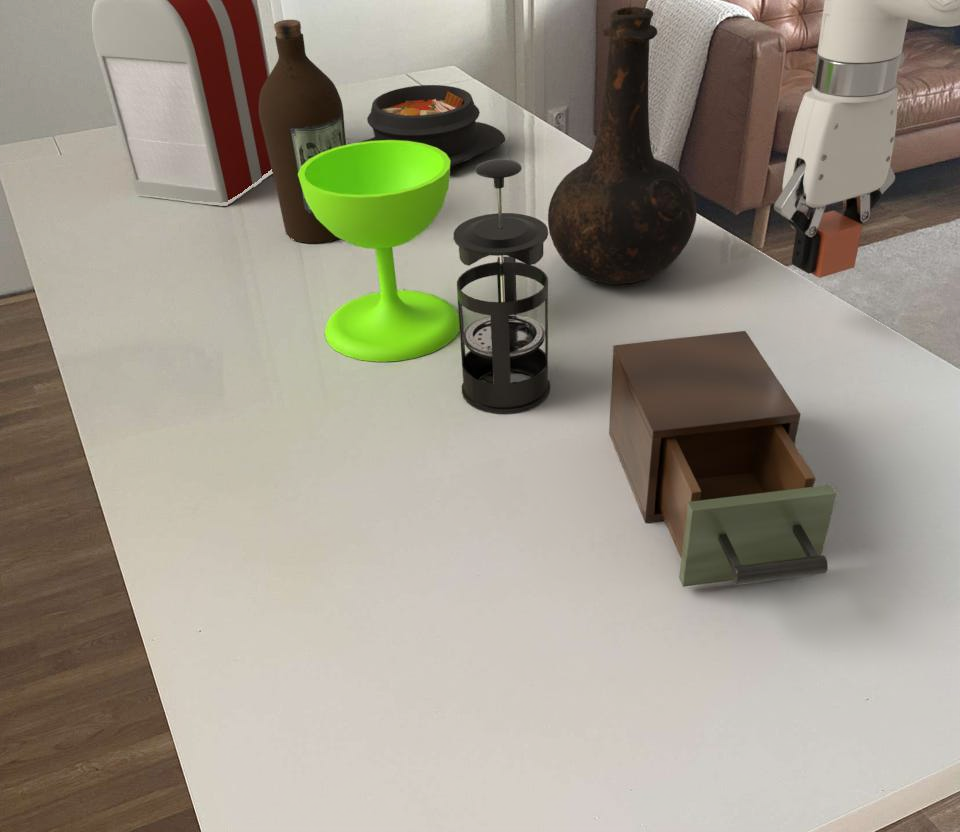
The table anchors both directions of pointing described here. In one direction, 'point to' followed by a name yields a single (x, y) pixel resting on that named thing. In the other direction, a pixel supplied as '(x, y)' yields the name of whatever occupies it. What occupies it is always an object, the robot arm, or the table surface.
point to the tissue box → (185, 93)
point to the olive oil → (298, 127)
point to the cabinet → (688, 400)
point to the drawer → (742, 506)
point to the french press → (503, 305)
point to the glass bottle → (623, 177)
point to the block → (836, 244)
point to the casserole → (433, 121)
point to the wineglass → (382, 241)
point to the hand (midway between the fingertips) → (823, 260)
